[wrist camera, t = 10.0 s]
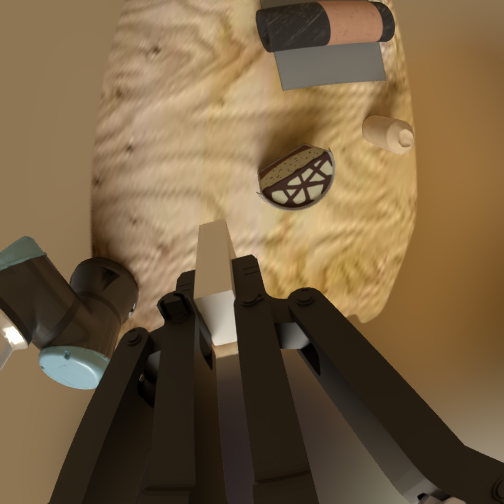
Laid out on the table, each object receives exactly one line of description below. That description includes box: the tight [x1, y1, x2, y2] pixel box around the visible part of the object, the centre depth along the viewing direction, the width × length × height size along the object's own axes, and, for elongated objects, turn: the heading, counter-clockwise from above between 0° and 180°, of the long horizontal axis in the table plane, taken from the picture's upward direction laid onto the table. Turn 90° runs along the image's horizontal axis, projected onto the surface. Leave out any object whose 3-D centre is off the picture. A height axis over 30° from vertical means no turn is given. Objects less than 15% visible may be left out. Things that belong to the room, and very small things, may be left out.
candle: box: [362, 115, 414, 154], centre depth 41 cm, size 6×6×10 cm
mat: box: [260, 0, 386, 91], centre depth 36 cm, size 19×18×1 cm
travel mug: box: [256, 1, 395, 52], centre depth 32 cm, size 8×8×20 cm
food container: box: [256, 144, 335, 211], centre depth 44 cm, size 12×6×10 cm, turn 123°
